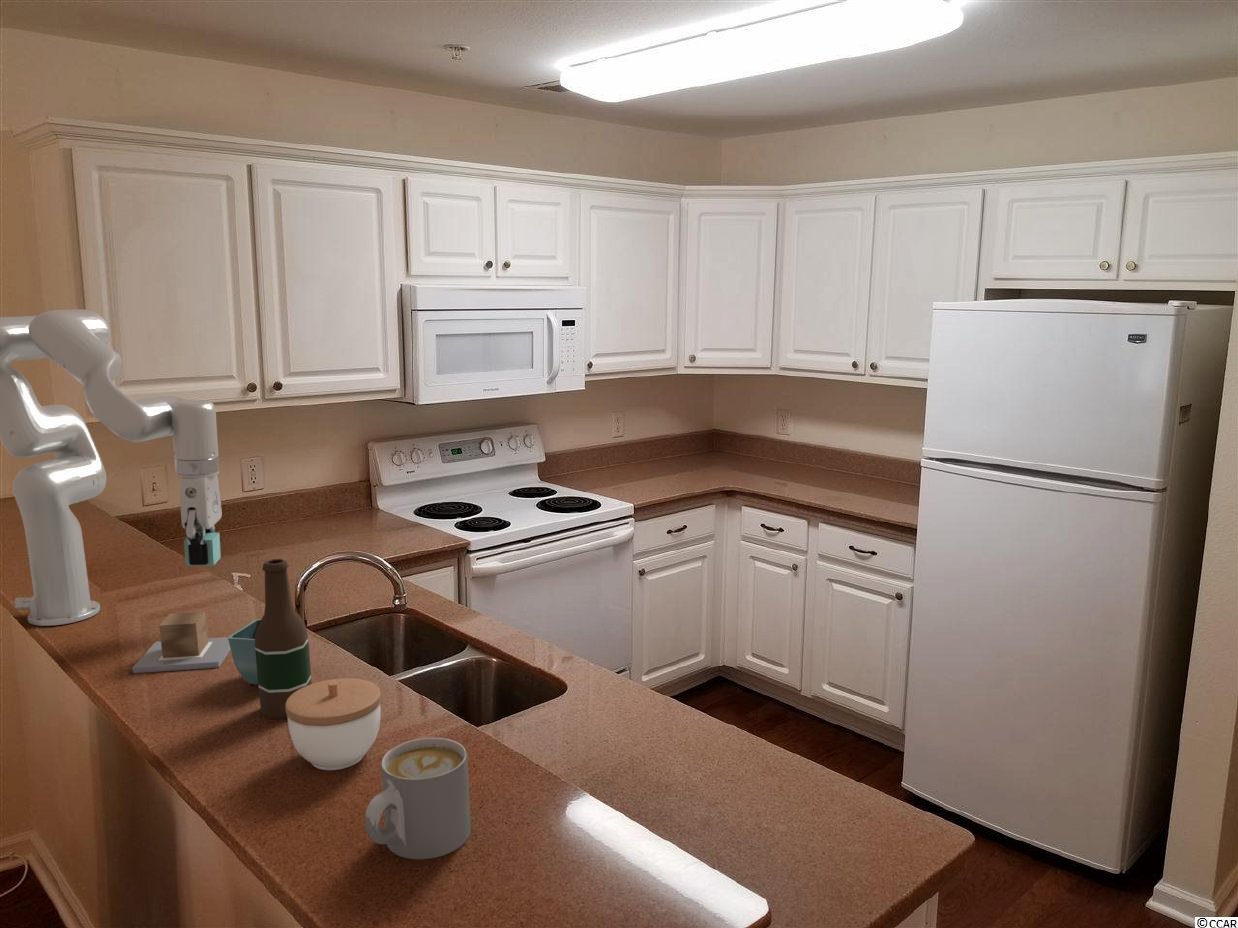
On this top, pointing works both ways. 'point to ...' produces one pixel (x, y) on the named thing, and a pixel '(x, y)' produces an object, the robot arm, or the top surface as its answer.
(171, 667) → the pad
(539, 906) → the top surface
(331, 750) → the lidded bowl
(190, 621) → the walnut block
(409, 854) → the coffee mug
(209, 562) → the teal block
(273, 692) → the beer bottle
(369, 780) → the top surface
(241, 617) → the top surface
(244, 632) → the flower pot
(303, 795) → the top surface
